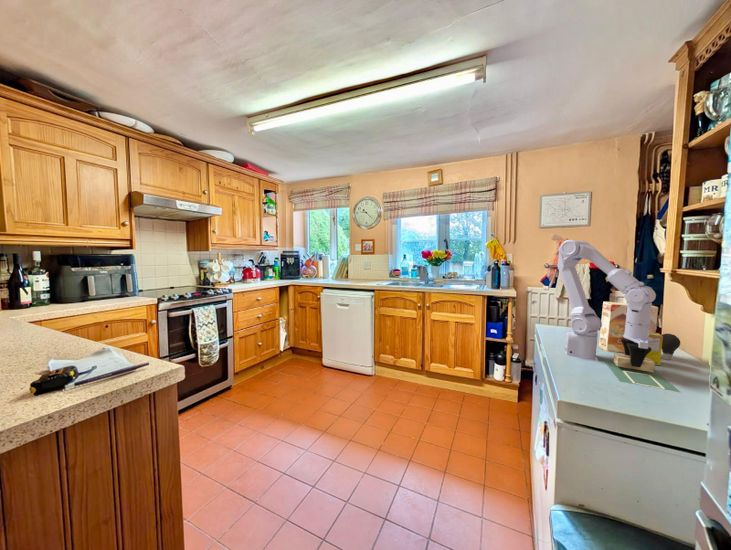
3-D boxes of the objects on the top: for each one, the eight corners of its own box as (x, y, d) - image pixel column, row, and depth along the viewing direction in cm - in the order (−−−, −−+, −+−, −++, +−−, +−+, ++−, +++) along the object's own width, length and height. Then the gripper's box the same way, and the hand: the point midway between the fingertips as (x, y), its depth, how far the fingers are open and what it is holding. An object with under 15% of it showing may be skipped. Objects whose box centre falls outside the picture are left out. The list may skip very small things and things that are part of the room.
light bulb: (680, 364, 103) (683, 337, 102) (658, 361, 106) (661, 334, 105) (674, 359, 108) (677, 333, 107) (654, 356, 110) (656, 330, 110)
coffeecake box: (606, 352, 114) (611, 303, 112) (597, 347, 120) (602, 301, 119) (653, 357, 109) (659, 306, 108) (642, 351, 116) (647, 303, 115)
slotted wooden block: (617, 366, 95) (618, 357, 95) (613, 361, 99) (614, 353, 99) (654, 372, 91) (655, 362, 91) (648, 367, 95) (649, 358, 95)
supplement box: (655, 362, 104) (658, 332, 103) (660, 367, 99) (663, 336, 98) (633, 358, 107) (636, 330, 107) (636, 363, 103) (639, 333, 102)
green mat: (619, 383, 86) (619, 380, 86) (604, 363, 102) (604, 361, 102) (680, 394, 80) (680, 391, 80) (654, 371, 96) (654, 369, 96)
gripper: (663, 330, 86) (658, 374, 87) (645, 320, 98) (641, 359, 100) (632, 326, 89) (628, 369, 90) (618, 317, 102) (615, 355, 103)
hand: (633, 363), depth 95 cm, fingers closed on slotted wooden block, 4 cm apart
